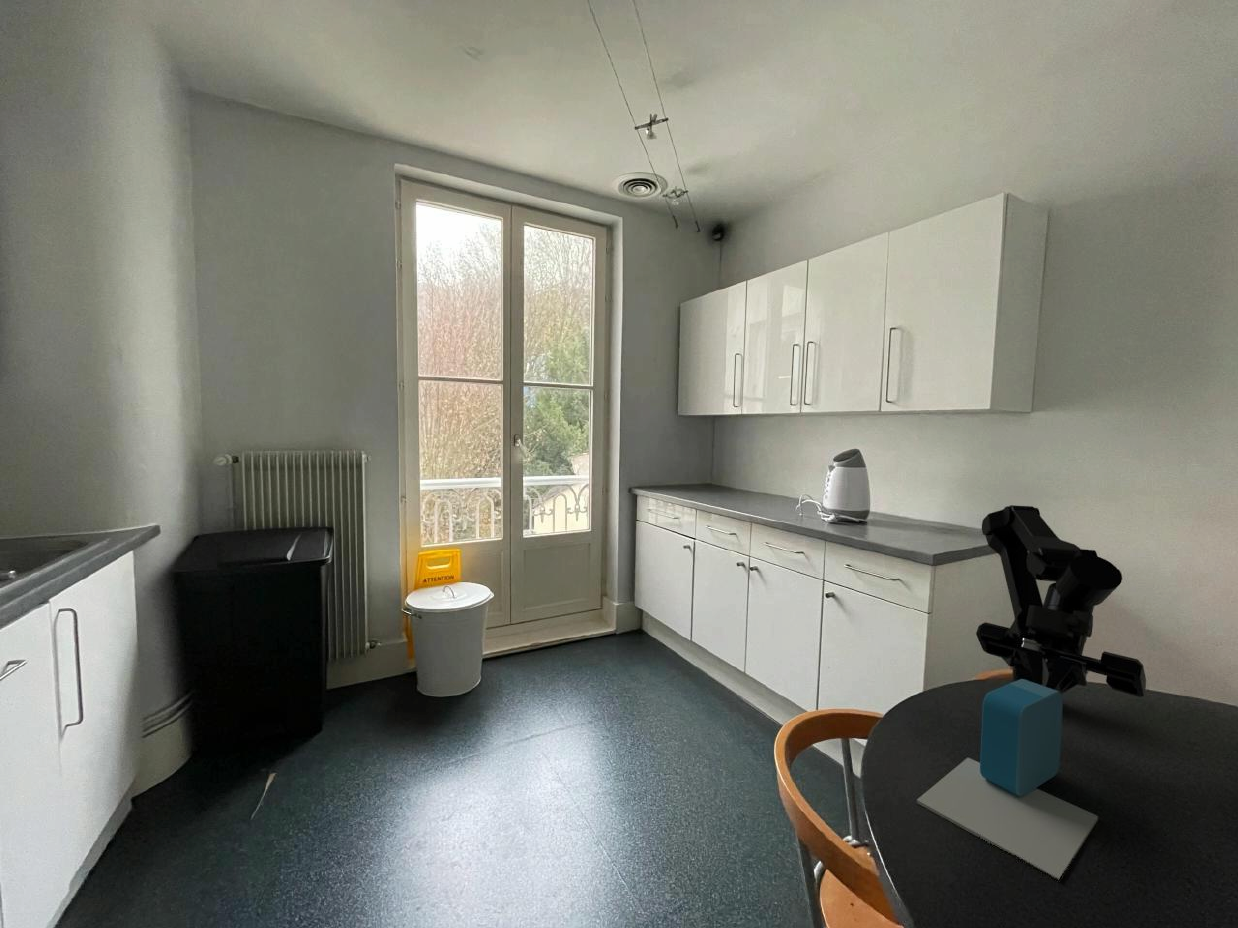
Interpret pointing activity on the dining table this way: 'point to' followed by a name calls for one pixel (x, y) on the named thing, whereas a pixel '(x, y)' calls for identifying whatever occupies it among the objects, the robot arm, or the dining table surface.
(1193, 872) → the dining table surface
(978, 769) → the mat
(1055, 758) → the blue rounded flat block
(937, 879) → the dining table surface
